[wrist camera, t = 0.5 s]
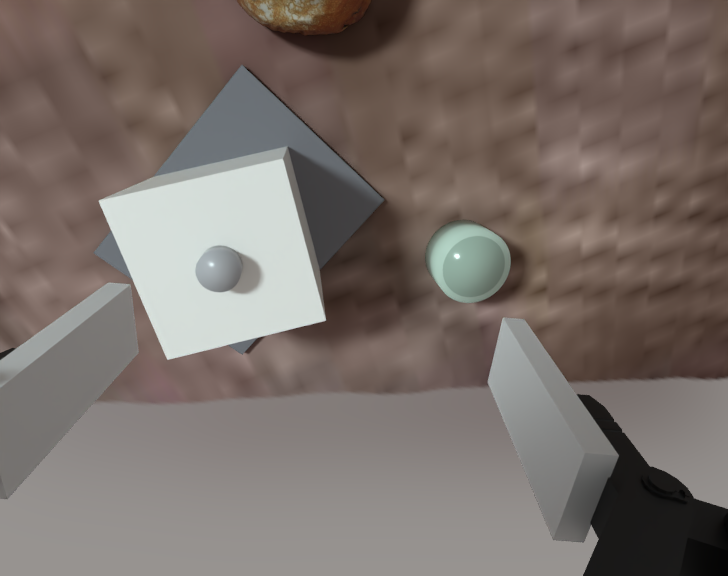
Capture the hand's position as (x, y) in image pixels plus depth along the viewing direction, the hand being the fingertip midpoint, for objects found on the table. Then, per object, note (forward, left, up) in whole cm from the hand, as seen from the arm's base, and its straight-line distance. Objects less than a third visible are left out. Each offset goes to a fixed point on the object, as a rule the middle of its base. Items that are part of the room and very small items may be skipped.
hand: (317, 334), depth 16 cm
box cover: (+4, -3, -21) cm, 22 cm away
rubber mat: (+4, -3, -22) cm, 22 cm away
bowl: (-6, +12, -22) cm, 25 cm away
